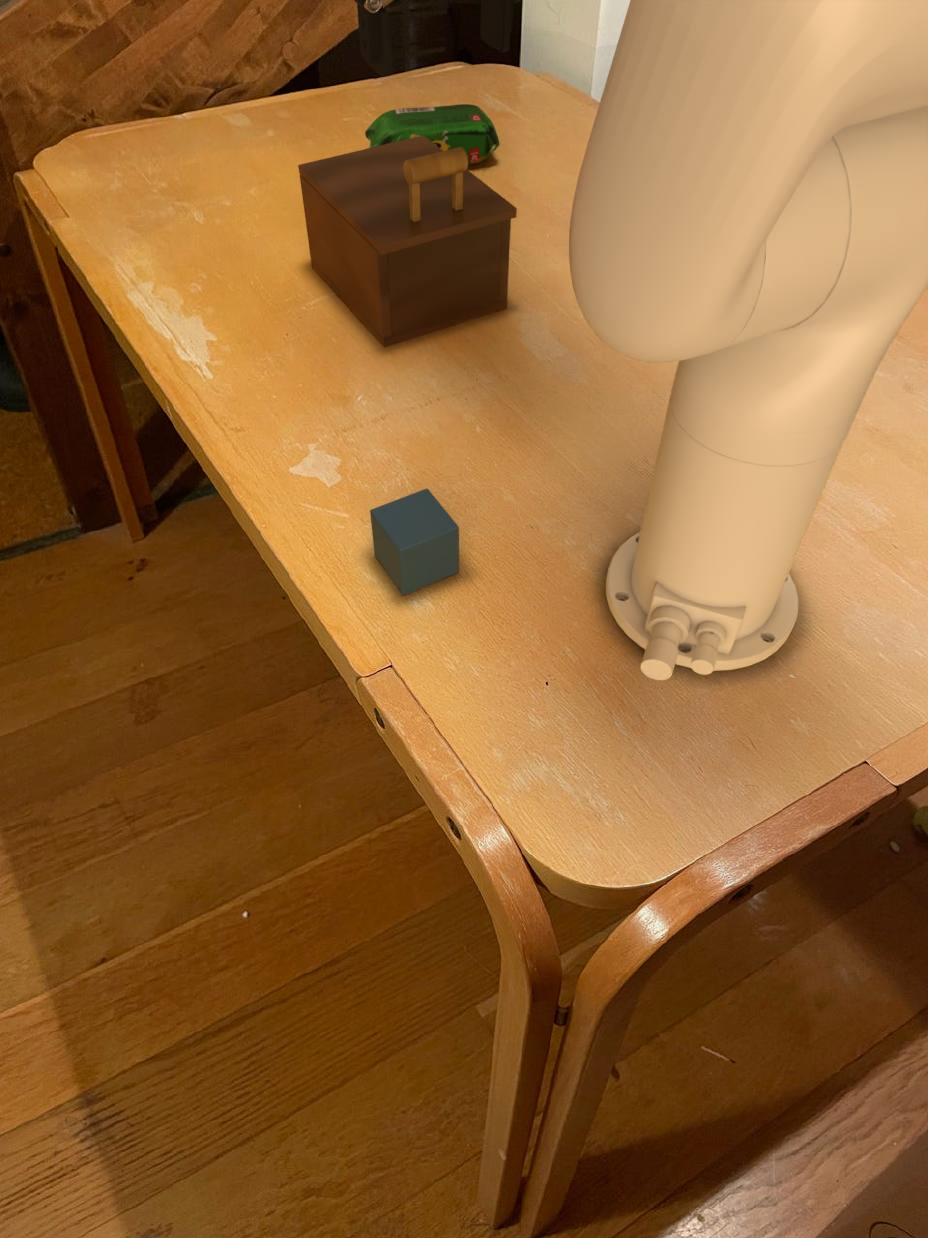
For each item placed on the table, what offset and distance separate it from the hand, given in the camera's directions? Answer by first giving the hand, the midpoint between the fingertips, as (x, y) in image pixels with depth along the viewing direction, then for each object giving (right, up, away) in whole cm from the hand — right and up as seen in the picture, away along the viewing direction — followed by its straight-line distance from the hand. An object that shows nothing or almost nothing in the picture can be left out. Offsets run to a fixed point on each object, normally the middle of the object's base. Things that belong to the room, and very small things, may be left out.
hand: (438, 57), depth 66 cm
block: (-1, -37, -3) cm, 38 cm away
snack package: (-2, +11, +37) cm, 39 cm away
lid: (-3, -4, +12) cm, 14 cm away
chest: (-4, -10, +20) cm, 22 cm away
